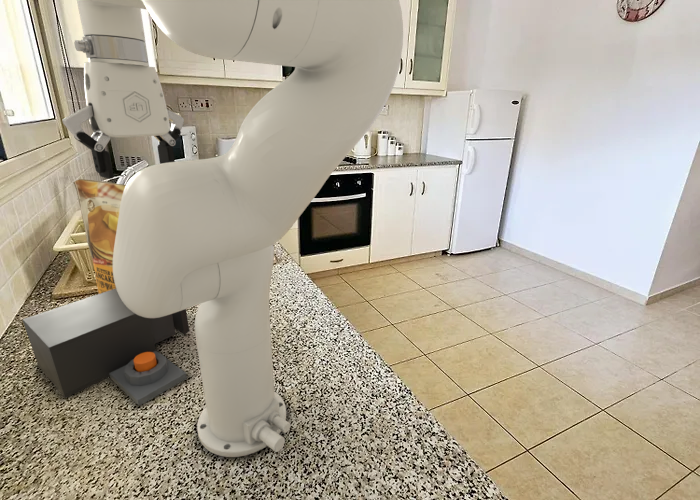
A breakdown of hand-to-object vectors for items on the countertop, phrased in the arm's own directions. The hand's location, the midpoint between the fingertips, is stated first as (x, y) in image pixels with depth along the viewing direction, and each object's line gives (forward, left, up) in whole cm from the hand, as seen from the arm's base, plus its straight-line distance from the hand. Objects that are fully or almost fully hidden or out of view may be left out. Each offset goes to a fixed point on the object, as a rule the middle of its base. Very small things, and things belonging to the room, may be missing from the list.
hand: (139, 173), depth 60 cm
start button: (-6, +7, -31) cm, 32 cm away
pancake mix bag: (+24, -3, -33) cm, 41 cm away
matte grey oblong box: (+6, +10, -33) cm, 35 cm away
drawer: (+6, 0, -32) cm, 33 cm away
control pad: (-6, +7, -33) cm, 34 cm away
